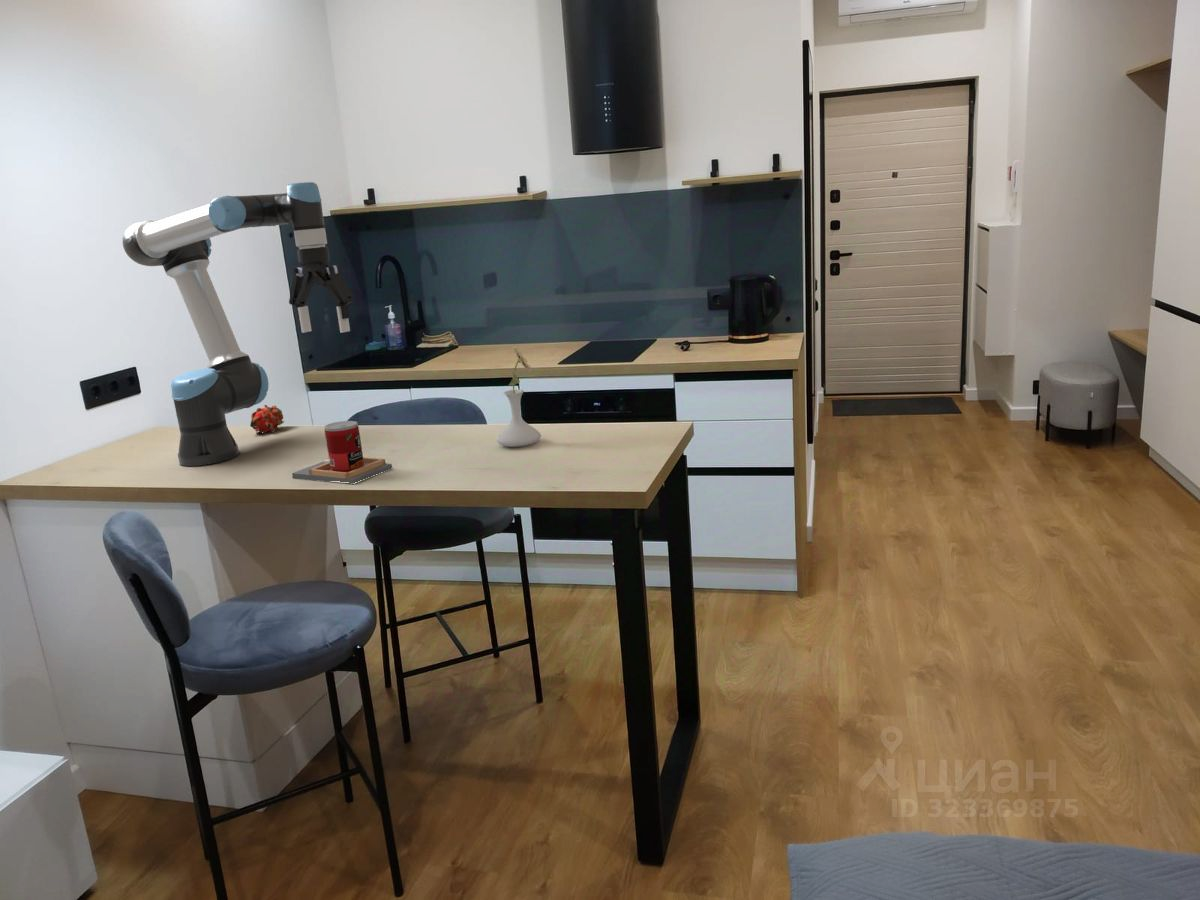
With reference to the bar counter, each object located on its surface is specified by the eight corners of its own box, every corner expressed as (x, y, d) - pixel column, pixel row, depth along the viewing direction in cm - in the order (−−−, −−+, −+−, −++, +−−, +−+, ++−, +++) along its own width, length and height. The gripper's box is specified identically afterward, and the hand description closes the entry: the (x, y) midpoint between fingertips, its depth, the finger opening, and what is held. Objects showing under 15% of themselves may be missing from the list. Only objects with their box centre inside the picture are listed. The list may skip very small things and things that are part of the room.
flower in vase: (531, 450, 230) (521, 350, 224) (489, 450, 234) (478, 352, 228) (550, 436, 242) (541, 341, 236) (510, 436, 246) (500, 343, 239)
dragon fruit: (288, 431, 282) (259, 447, 273) (267, 415, 284) (237, 430, 274) (294, 410, 277) (264, 426, 268) (273, 394, 279) (242, 409, 269)
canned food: (356, 473, 219) (349, 428, 216) (325, 473, 220) (317, 429, 218) (370, 464, 226) (363, 420, 223) (340, 464, 228) (333, 421, 225)
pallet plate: (292, 477, 224) (291, 468, 223) (332, 462, 235) (330, 453, 234) (353, 484, 214) (352, 474, 213) (392, 468, 225) (390, 459, 224)
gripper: (359, 243, 228) (372, 329, 234) (288, 248, 241) (302, 329, 246) (337, 245, 222) (351, 334, 227) (265, 250, 234) (280, 334, 240)
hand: (325, 332), depth 237 cm, fingers open, 13 cm apart
